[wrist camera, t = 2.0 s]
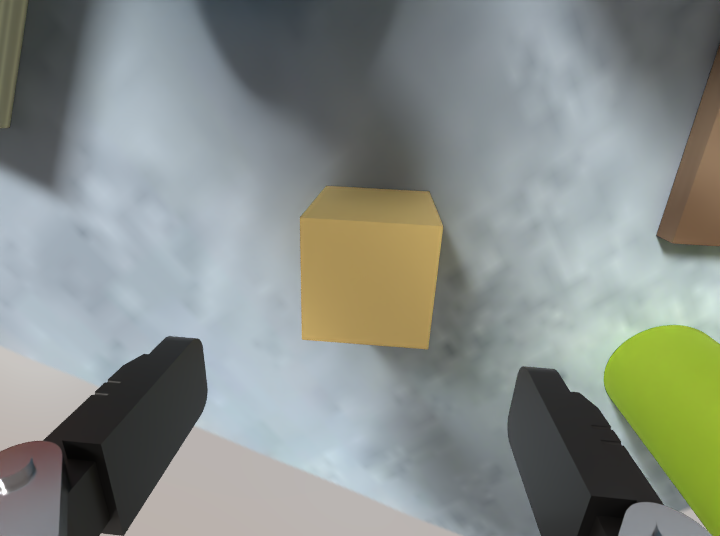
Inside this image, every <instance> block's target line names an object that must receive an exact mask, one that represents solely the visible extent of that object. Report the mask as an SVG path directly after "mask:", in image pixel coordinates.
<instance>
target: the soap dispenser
mask: <svg viewBox="0 0 720 536" xmlns="http://www.w3.org/2000/svg"><path fill="white" fill-rule="evenodd" d="M604 385H605V389H606V391H607V394H608V395H609V397H610V398H611V400H612V401H613V402H614V404H615V405H616V406H617V408H618V409H619V411H620V412H621V413H622V415H623V416H624V417H625V419H626V420H627V421H628V423H629V424H630V425H631V427H632V428H633V430H634V431H635V432H636V434H637V435H638V436H639V438H640V439H641V440H642V442H643V443H644V445H645V446H646V447H647V449H648V450H649V451H650V453H651V454H652V455H653V457H654V458H655V459H656V461H657V462H658V464H659V465H660V466H661V468H662V469H663V470H664V472H665V473H666V474H667V476H668V477H669V479H670V480H671V481H672V483H673V484H674V485H675V487H676V488H677V489H678V491H679V492H680V493H681V495H682V496H683V498H684V499H685V500H686V502H687V503H688V504H689V506H690V507H691V508H692V510H693V511H694V513H695V514H696V515H697V517H698V518H699V519H700V521H701V522H702V523H703V525H704V526H705V527H706V529H707V530H708V532H709V533H710V534H711V535H712V536H720V344H719V343H717V342H716V341H715V340H713V339H712V338H711V337H709V336H708V335H706V334H705V333H703V332H702V331H699V330H697V329H694V328H691V327H687V326H680V325H667V326H660V327H655V328H651V329H648V330H645V331H643V332H641V333H638V334H636V335H635V336H633V337H631V338H630V339H628V340H627V341H625V342H624V343H623V344H622V345H621V346H620V347H619V348H618V349H617V350H616V351H615V352H614V353H613V355H612V356H611V357H610V359H609V361H608V363H607V365H606V368H605V372H604Z"/></svg>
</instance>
